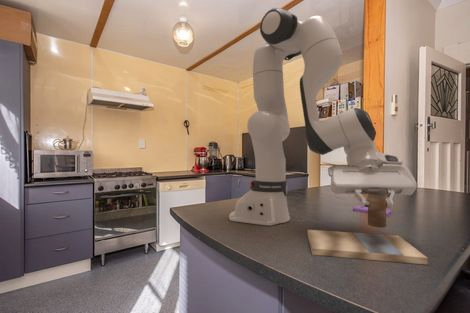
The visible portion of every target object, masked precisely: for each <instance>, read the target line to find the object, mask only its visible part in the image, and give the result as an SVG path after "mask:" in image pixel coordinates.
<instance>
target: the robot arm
mask: <svg viewBox="0 0 470 313" xmlns="http://www.w3.org/2000/svg"><path fill="white" fill-rule="evenodd" d="M259 32H260V36H261V38H262V39H264V41H265V42H266V43H265V44H262V45H260V46H258V47H257V48H256V49H255V51H254V55H253V60H252V82H253V84H252V85H253V86H252V87H253V99H254V101H255V103H256V107H257V111H256V112H254V113H252V114H251V116H250V117H249V119H248V120H247V124H246V126H247V132H248V134H249V135H250V138H251V143H252V147H253V148H252V149H253V154H254V160H255V164H254V165H255V179H252V180H250V183H249V189H250V190H248V191H247V192H246V193H245V194H244V195H242V196H241V197H240V198H238V200H237V201H236V204H235V207H234V208H235V209H234V211H231V212H230V213H229V215H228V220H230V221H231V222H236V223H237V222H238V223H245V224H251V225H252V224H253V225H262V226H275V225H278V224H283V223H287V222H289V221H290V220H291V216H290V214H289V209H288V201H287V195H288V180H286V178H287V176H286V173H287V172H286V171H287V170H286V167H287V164H286V162H287V160H286V156H285V152H284V146H283V141H286V139H288V137H289V135H290V133H291V127H290V122H289V116H288V109H287V104H286V99H285V98H286V97H285V89H284V86H285V85H284V71H283V66H284V65H283V63H284V61H291V60H292V59H293V58H295V57H298V56H300V55H301V56H302V59H303V63H304V67H303V69H304V70H303V74H302V75H301V77H300V79H299V91H300V99H301V107H302V113H303V119H304V128H305V130H304V131H305V141H306V145H307V146H308V149H309V150H310V151H311V152H313V153H315V154H318V155H322V156H324V155H327V154H328V153H331V152H333V151H335V150H337V149H341V148H343V151H344V153H345V155H346V157H345V158H346V163H347V164H333V165H332V166H329V167H328V168H327V174H328V176H329V177H330V190H331V192H332V193H334V194H336V195H337V194H340V195H342V194H344V195H346V194H347V195H354V198H355V199H356V200H358V201H359V202H360V205H361V206H362V207H369V205H370V203H369V200H368V197H365V196H364V195H368V189H369V188H378V189H385V190H386V209H393V207H394V206H395V205H394V200H393V198H394V196H411V195H413V194H414V193H415V192H416V189H417V186H418V183H417V181H416V179H415V177H414V175H413V174H412V172H411V170H410V169H409V168H408V167H407V166H406V165H404V164H403V163H404V161H403V158H402V157H401V156H395V155H391V154H387V153H383V152H379V150H378V149H377V148H376V146H377V145H376V141H375V139H376V135H377V131H376V128H375V126H374V125H373V121H372V118H371V116H370V115H369V113H368V111H365V109H361V108H358V107H353V108H351V109H348V110H345V111H343V112H340V113H338V114H336V115H333V116H331V117H329V118H326V119H324V120H320V118H319V110H318V105H317V95H318V94H319V92H320V91H321V89H322V88H323V87H324V86H325V85H326V84H327V83H329V81H330V80H331V79H332V78H333V77H334V76H335V75H336V74H337V73H338V71H339V69H340V67H341V65H342V63H343V59H344V58H343V57H344V56H343V52H342V48H341V45H340V41H339V40H338V37H337V35H336V33H335V31H334V29H333V28H332V26H331V24H330V23H329V22H328V21H327V19H326V18H325V17H324V16H323V15H312V16H310V17H308V18H306V19H305V20H301V21H300V19H298V16H297V15H295V14H294V13H292V12H290V11H288V10H286V9H285V8H280V7H273V8H271V9H269V10H268V11H267V12H266V13H265V14H264V15H263V17H262V19H261V20H260V25H259Z"/></svg>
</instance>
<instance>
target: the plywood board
mask: <svg viewBox="0 0 470 313" xmlns="http://www.w3.org/2000/svg"><path fill="white" fill-rule="evenodd" d="M307 238H308V241H309V242H308V243H309V246H310V250H311V254H312V255H313V256H324V257H326V256H327V257H337V258H346V259H347V258H349V259H356V260H358V259H360V260H368V261H369V260H370V261H371V260H372V261H382V262H393V263H394V262H395V263H403V264H404V263H405V264H416V265H428V264H429V258H428V257H427V256H426V255H425V254H423V253H422V252H421V251H420V250H418V249H417V248H415V247H414V246H412V245H411V244H410V243H409V242H407V241H406V240H405V239H403V238H402V237H401V236H399V235H394V234H381V233H369V232H367V233H364V232H353V231H352V232H351V231H338V230H337V231H336V230H321V229H320V230H319V229H307Z"/></svg>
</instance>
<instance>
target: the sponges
mask: <svg viewBox="0 0 470 313" xmlns="http://www.w3.org/2000/svg"><path fill="white" fill-rule="evenodd" d="M352 209H353V210H352V211H354V212H358V213H365V214H368V207H362V205H361V204H358V205H356V206H354V207H352ZM391 214H392V209H388V208H386V217H389V216H390V215H391Z"/></svg>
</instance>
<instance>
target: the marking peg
mask: <svg viewBox="0 0 470 313" xmlns="http://www.w3.org/2000/svg"><path fill="white" fill-rule="evenodd" d="M367 198H368V200H369V203H370V205H369V207H368V213H367V225H368V226H370V227H373V228H374V227H375V228H386V227H387V216H386V209H387V208H386V199H387V197H386V190H385V189H378V188H369V189H368V194H367Z"/></svg>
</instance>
